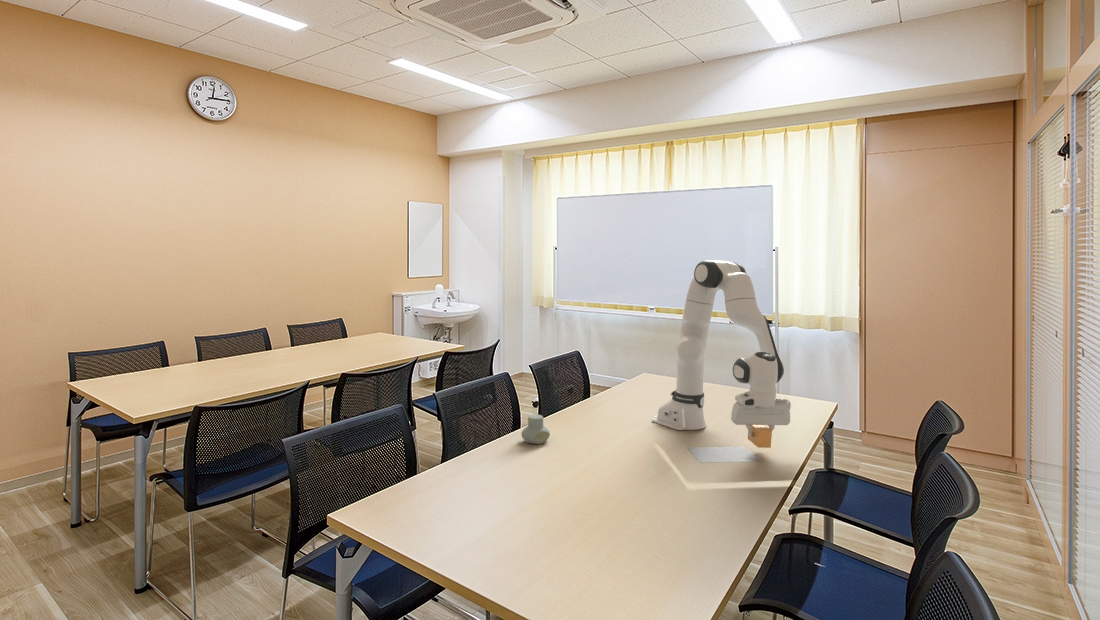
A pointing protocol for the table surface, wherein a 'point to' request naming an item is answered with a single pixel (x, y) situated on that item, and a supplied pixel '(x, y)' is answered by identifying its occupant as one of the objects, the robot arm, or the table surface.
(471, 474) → the table surface
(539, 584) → the table surface
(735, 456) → the board
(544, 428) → the air freshener
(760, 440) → the block
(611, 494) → the table surface
